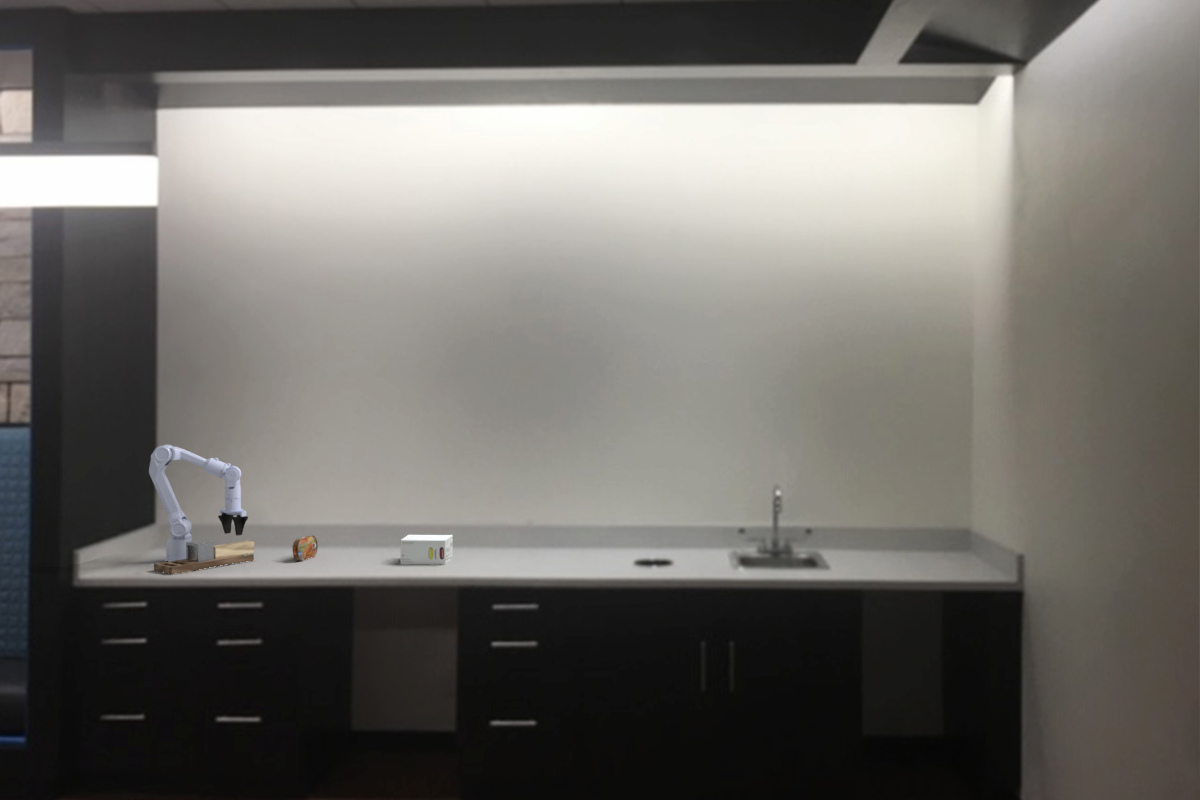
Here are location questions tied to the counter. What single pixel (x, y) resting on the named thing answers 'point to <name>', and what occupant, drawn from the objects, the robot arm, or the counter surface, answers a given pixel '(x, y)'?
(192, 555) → the metal u-shaped holder
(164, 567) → the walnut deck
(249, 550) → the ash block
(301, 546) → the tin
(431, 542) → the supplement box
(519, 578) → the counter surface
